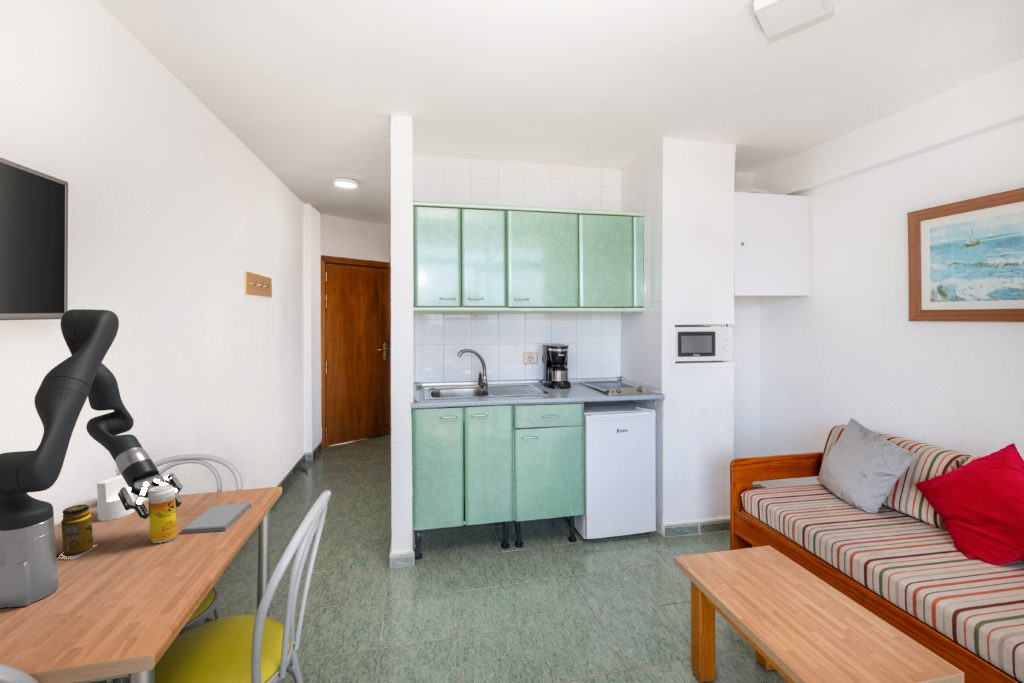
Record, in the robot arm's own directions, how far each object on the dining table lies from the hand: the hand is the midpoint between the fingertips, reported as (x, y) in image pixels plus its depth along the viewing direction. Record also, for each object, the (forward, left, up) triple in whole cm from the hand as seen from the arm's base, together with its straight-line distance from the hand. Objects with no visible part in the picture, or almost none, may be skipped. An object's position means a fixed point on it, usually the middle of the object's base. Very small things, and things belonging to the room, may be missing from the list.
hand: (163, 511), depth 132 cm
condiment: (-4, +20, -9) cm, 23 cm away
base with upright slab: (+21, +26, -9) cm, 35 cm away
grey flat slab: (+12, -9, -8) cm, 17 cm away
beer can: (0, 0, -9) cm, 9 cm away
